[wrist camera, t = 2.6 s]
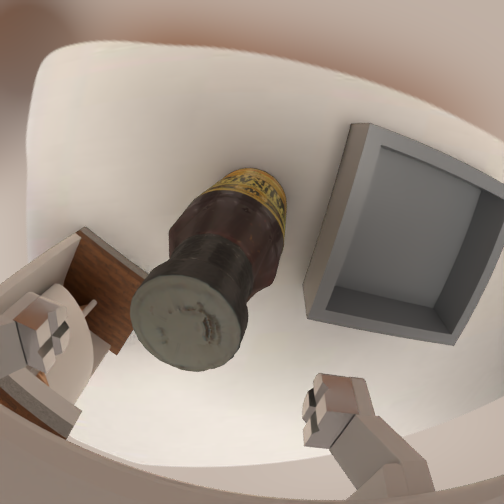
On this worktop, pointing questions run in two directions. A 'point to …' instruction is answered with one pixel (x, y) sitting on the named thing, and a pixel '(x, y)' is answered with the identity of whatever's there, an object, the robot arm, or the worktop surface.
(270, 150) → the worktop surface
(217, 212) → the sauce bottle
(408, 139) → the box
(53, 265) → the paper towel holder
